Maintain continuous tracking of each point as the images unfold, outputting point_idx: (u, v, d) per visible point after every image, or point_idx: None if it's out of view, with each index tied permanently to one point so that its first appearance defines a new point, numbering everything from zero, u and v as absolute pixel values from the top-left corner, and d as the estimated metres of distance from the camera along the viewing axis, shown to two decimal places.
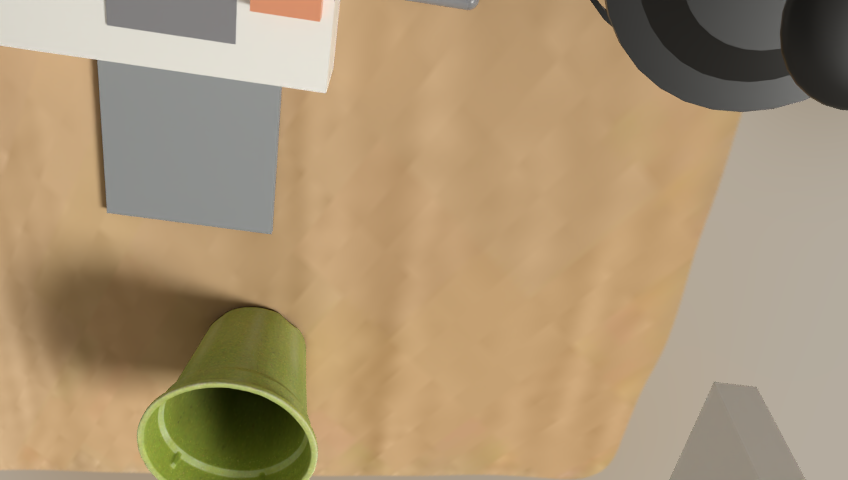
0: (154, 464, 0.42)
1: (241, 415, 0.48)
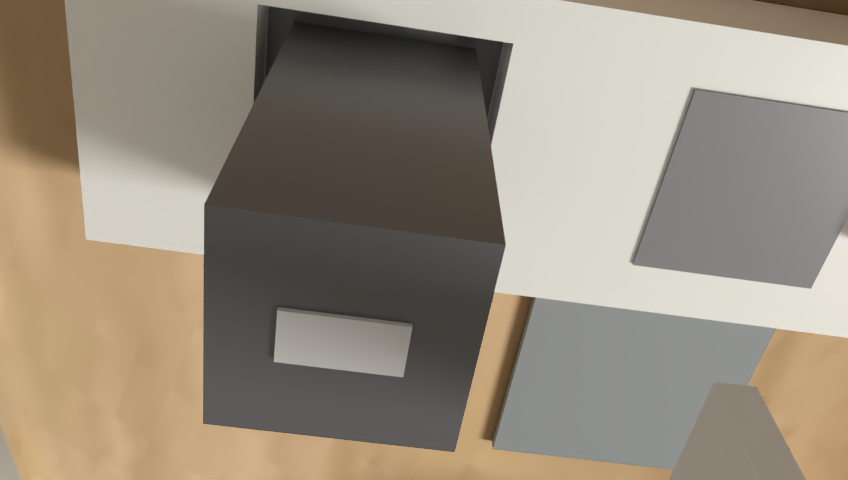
0: None
1: None
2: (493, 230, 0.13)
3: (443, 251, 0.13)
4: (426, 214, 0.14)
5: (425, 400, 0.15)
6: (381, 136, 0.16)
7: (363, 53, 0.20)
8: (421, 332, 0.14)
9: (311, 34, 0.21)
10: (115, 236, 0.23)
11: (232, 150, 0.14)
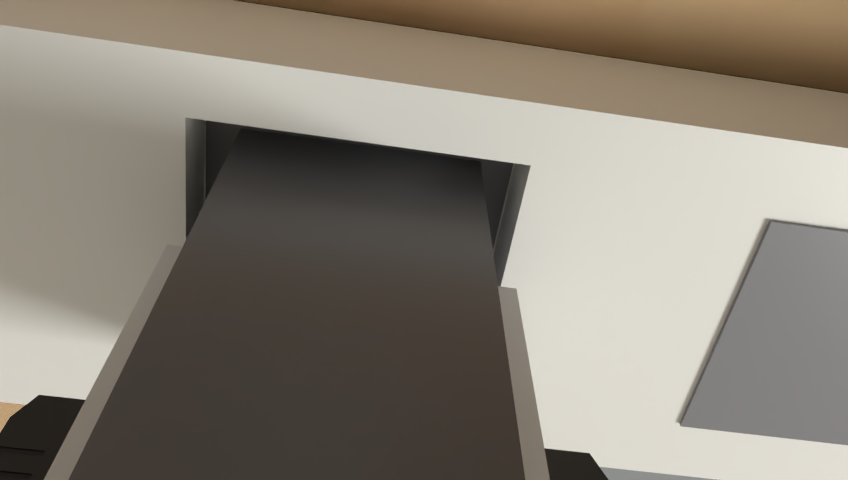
0: None
1: None
2: None
3: None
4: None
5: None
6: (347, 345, 0.11)
7: (330, 180, 0.15)
8: None
9: (261, 150, 0.15)
10: (15, 396, 0.18)
11: (110, 399, 0.09)
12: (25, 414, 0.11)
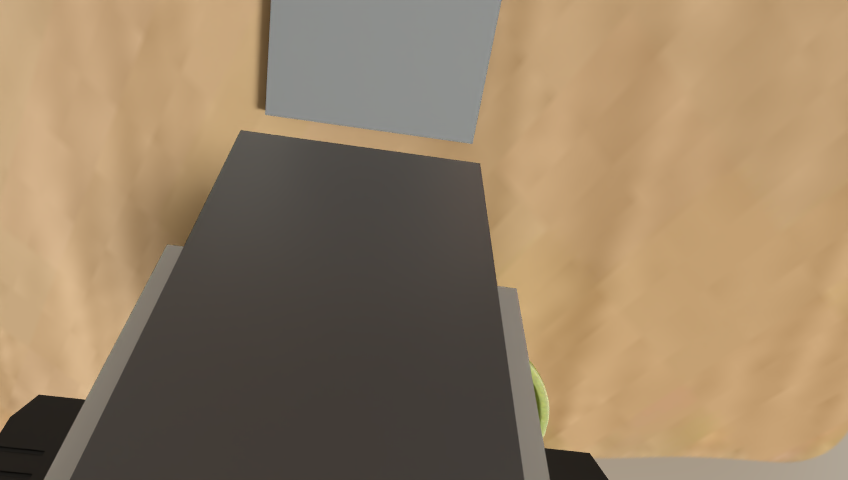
0: None
1: None
2: None
3: None
4: None
5: None
6: (345, 347, 0.11)
7: (329, 182, 0.15)
8: None
9: (261, 152, 0.15)
10: None
11: (110, 402, 0.09)
12: (25, 414, 0.11)
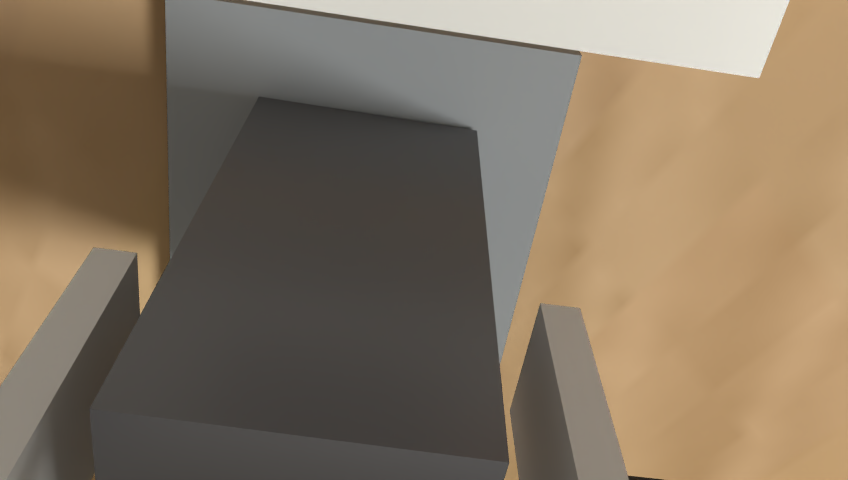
0: None
1: None
2: (492, 435, 0.10)
3: (423, 467, 0.10)
4: (400, 410, 0.10)
5: None
6: (350, 273, 0.12)
7: (338, 142, 0.16)
8: None
9: (277, 116, 0.17)
10: None
11: (147, 306, 0.11)
12: None
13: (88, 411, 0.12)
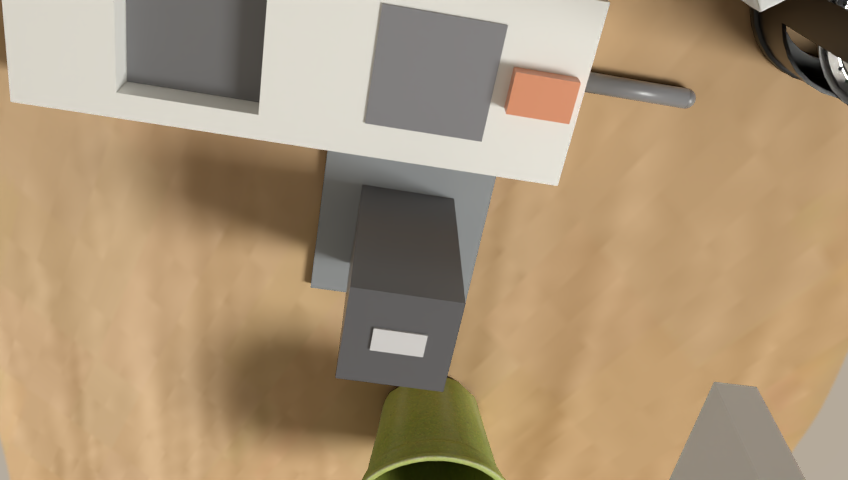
0: None
1: None
2: (460, 297, 0.34)
3: (441, 305, 0.34)
4: (434, 290, 0.34)
5: (431, 367, 0.35)
6: (413, 253, 0.37)
7: (399, 205, 0.41)
8: (431, 338, 0.35)
9: (372, 193, 0.41)
10: (29, 99, 0.36)
11: (353, 262, 0.35)
12: None
13: None
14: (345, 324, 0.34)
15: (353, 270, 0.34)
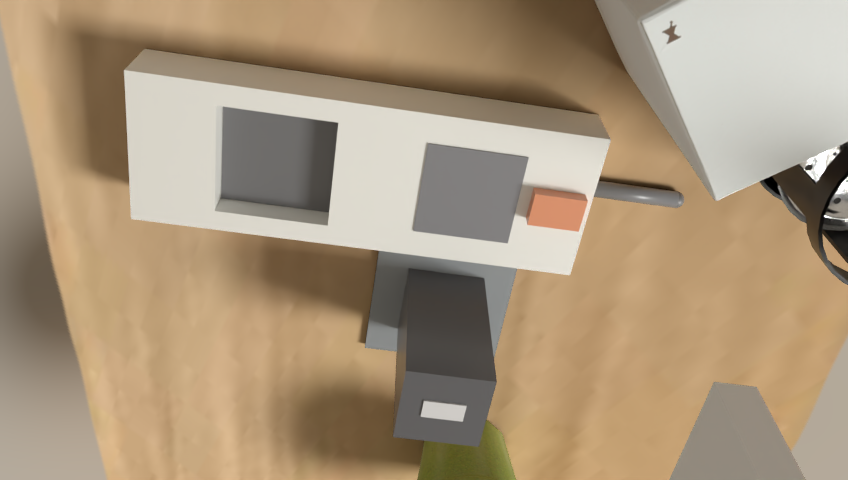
0: None
1: None
2: (492, 376, 0.43)
3: (477, 383, 0.43)
4: (471, 370, 0.43)
5: (469, 429, 0.45)
6: (453, 336, 0.46)
7: (439, 287, 0.50)
8: (469, 407, 0.44)
9: (417, 277, 0.50)
10: (146, 217, 0.45)
11: (406, 347, 0.44)
12: None
13: None
14: (401, 398, 0.43)
15: (407, 355, 0.43)
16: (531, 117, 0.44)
